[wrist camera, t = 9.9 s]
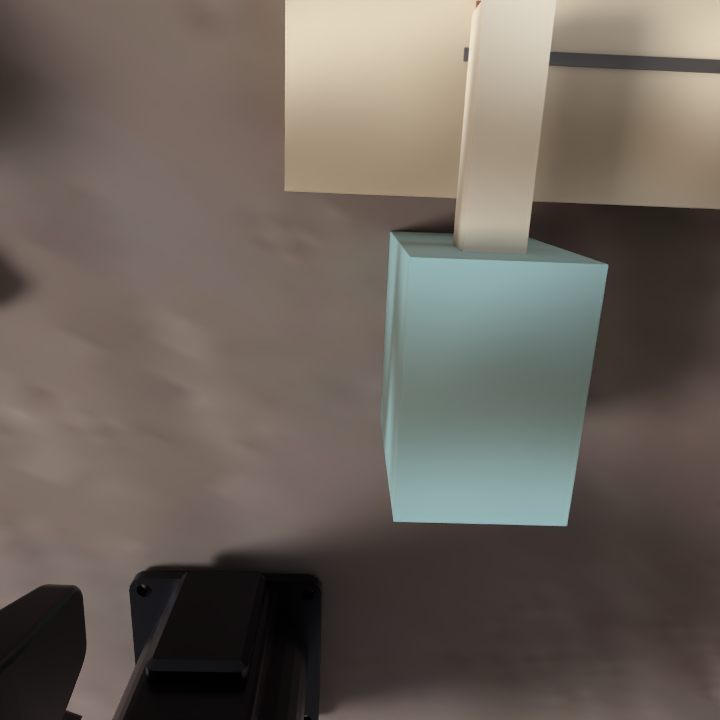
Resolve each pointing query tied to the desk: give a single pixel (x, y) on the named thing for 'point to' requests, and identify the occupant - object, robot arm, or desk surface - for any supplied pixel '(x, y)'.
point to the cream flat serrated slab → (561, 105)
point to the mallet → (490, 313)
